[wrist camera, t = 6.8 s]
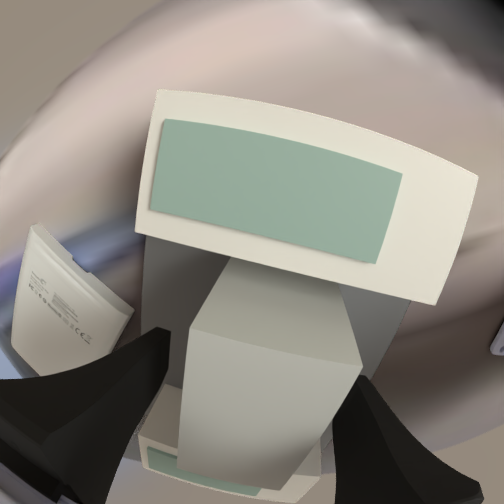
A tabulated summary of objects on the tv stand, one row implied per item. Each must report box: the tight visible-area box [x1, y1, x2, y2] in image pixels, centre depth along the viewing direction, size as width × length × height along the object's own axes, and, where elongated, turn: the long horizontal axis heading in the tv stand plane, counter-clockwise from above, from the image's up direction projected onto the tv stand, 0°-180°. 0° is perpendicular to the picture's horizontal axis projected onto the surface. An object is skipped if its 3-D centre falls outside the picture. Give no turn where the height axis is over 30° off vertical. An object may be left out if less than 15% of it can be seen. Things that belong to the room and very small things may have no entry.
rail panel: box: [135, 89, 479, 503], centre depth 12 cm, size 12×18×5 cm, turn 168°
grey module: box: [177, 257, 363, 491], centre depth 10 cm, size 4×7×6 cm, turn 168°
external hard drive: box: [11, 223, 135, 376], centre depth 16 cm, size 2×8×12 cm
